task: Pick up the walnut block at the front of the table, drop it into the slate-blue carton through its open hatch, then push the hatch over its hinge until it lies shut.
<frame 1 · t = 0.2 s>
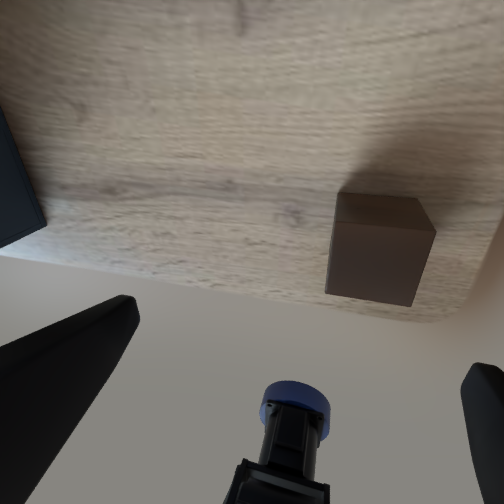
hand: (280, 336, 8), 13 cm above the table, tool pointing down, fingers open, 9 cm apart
block: (369, 229, 19), on the table
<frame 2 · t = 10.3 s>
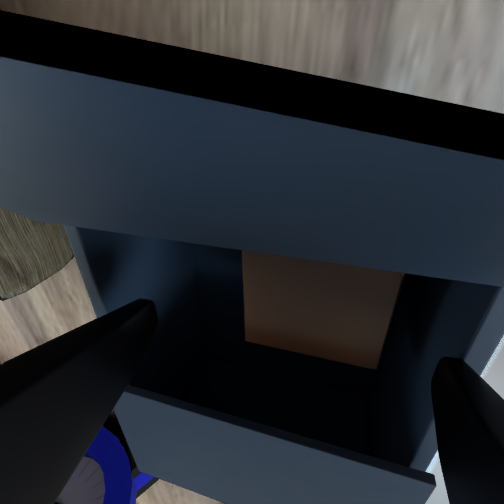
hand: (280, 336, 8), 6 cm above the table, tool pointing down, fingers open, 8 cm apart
window flap: (164, 154, 3), point 9 cm above the table, hinge at 135.0°
carton: (288, 291, 15), on the table
block: (325, 238, 13), resting on carton
alarm clock: (115, 435, 31), on the table
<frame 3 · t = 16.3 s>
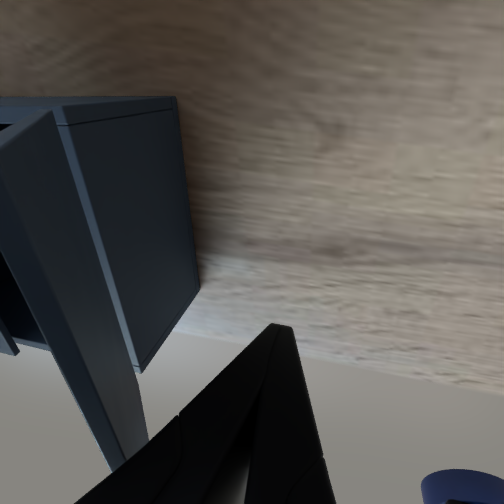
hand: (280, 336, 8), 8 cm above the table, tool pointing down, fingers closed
window flap: (108, 347, 8), point 9 cm above the table, hinge at 131.8°, touching gripper
carton: (90, 200, 18), on the table
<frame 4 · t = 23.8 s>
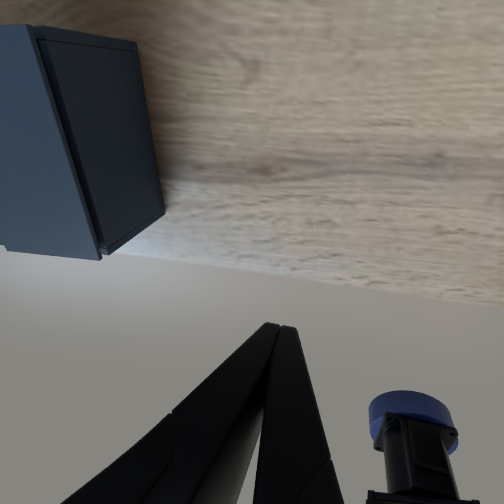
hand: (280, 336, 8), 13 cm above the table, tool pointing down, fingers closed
window flap: (16, 161, 15), point 7 cm above the table, hinge at 4.6°
carton: (74, 136, 22), on the table
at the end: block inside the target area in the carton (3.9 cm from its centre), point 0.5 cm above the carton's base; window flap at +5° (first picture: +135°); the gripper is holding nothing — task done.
